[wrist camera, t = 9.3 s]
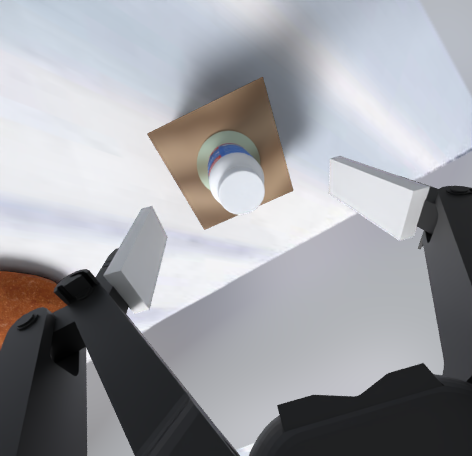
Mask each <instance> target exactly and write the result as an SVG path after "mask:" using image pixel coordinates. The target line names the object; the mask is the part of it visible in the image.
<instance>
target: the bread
mask: <svg viewBox="0 0 472 456" xmlns="http://www.w3.org/2000/svg"><path fill="white" fill-rule="evenodd" d="M56 285H57V284H56V283H55V282H54V281H52V280H49V279H46V278H43V277H40V276H37V275H30V274H23V273H16V272H8V271H0V349H1V347H2V344H3V342H4V339H5V337H6V334H7V332H8V330H9V329H10V327H11V326H12V325H13V324H14V323H15V322H16V321H17V320H18V319H19V318H21V316H23V315H24V314H27V313H29V312H30V311H32V310H35V309H37V308H41V307H44V308H47V309H48V310H49V311H50V312H51V313H53V312H55V311H57V310H59V309H61V308H63V307H65V306H67V305H66V304H65V303H64V302H63V301H62V300H61V299H60V298H59V297H58V296H57V295H56V294H55V293H54V288H55V287H56Z"/></svg>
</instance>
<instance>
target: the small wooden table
mask: <svg viewBox="0 0 472 456" xmlns="http://www.w3.org/2000/svg"><path fill="white" fill-rule="evenodd" d="M147 135H148V136H149V138H150V140H151V141H152V143H153V145H154V146H155V148H156V150H157V151H158V153H159V155H160V156H161V158H162V160H163V161H164V163H165V165H166V166H167V168H168V170H169V171H170V173H171V175H172V176H173V178H174V180H175V181H176V183H177V185H178V186H179V188H180V190H181V191H182V193H183V195H184V196H185V198H186V200H187V201H188V203H189V205H190V206H191V208H192V210H193V211H194V213H195V215H196V217H197V218H198V220H199V222H200V223H201V225H202V227H203V228H204V230H205V229H208V228H210V227H212V226H214V225H217V224H219V223H221V222H224V221H226V220H228V219H230V218H233V217H235V216H237V214H233V213H230V212H229V211H227V210H226V209H225V208H224V207H223V206H222V204H220V203H219V202H218V201H217V200H216V199H215V198H214V196H213V195H212V193H211V190H210V185H209V177H208V160H209V157H210V155H211V153H212V152H213V150H214V149H215V148H216V147H218V146H220V145H222V144H225V143H235V144H238V145H240V146H241V147H243V148H244V149H245V150H246V151H247V152H248V153H249V154H250V155H251V156H252V157H253V158H254V159H255V160H256V161H257V162H258V163H259V165H260V166H261V168H262V170H263V173H264V188H265V195H264V198H263V201H262V203H261V204H260V205H262V204H264V203H267V202H269V201H271V200H273V199H276V198H278V197H280V196H283V195H285V194H287V193H289V192H292V191H293V187H292V184H291V180H290V176H289V172H288V169H287V165H286V161H285V158H284V154H283V150H282V146H281V143H280V139H279V135H278V131H277V128H276V124H275V120H274V117H273V113H272V109H271V105H270V102H269V98H268V94H267V91H266V87H265V83H264V79H263V77H261V78H259V79H257V80H255V81H253V82H251V83H249V84H247V85H245V86H243V87H241V88H239V89H237V90H235V91H233V92H231V93H229V94H227V95H225V96H223V97H221V98H218V99H216V100H214V101H212V102H210V103H208V104H206V105H204V106H202V107H200V108H198V109H196V110H194V111H192V112H190V113H188V114H186V115H184V116H182V117H180V118H178V119H176V120H174V121H172V122H170V123H168V124H166V125H164V126H162V127H160V128H158V129H156V130H154V131H152V132H149V133H147ZM260 205H259V206H260Z"/></svg>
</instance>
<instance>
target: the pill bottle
mask: <svg viewBox="0 0 472 456" xmlns="http://www.w3.org/2000/svg"><path fill="white" fill-rule="evenodd" d="M208 177H209V185H210V190H211V193H212V195H213V196H214V198H215V199H216V200H217V201H218V202H219V203H220V204H222V206H223V207H224V208H225V209H226V210H227V211H229V212H230V213H233V214H237V215H243V214H248V213H250V212H252V211H254V210H255V209H257V208H258V207H259V205H260V204H261V203H262V201H263V198H264V195H265V188H264V173H263V170H262V168H261V166H260V165H259V163H258V162H257V161H256V160H255V159H254V158H253V157H252V156H251V155H250V154H249V153H248V152H247V151H246V150H245V149H244V148H243V147H241V146H240V145H238V144H235V143H225V144H222V145H220V146H218V147H216V148H215V149H214V150H213V152H212V153H211V155H210V157H209V160H208Z"/></svg>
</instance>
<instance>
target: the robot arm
mask: <svg viewBox="0 0 472 456" xmlns="http://www.w3.org/2000/svg"><path fill="white" fill-rule="evenodd" d="M329 194H330V195H331V196H333V197H334V198H336V199H337V200H339V201H340V202H342V203H343V204H345V205H346V206H348V207H349V208H351V209H352V210H354V211H356V212H357V213H359V214H360V215H362V216H363V217H365V218H366V219H368V220H369V221H371V222H372V223H374V224H375V225H377V226H378V227H380V228H381V229H383V230H384V231H386V232H387V233H389V234H390V235H392V236H393V237H395V238H396V239H398V240H399V241H400V240H404V239H408V238H411V237H414V234H415V232H416V228H417V227H419V228H421V229H423V230H424V232H423V235H422V238H421V241H420V243H419V247H418V249H421V247H422V246H424V251H425V257H426V263H427V268H428V274H429V279H430V285H431V291H432V296H433V302H434V307H435V313H436V319H437V324H438V328H439V329H438V330H439V336H440V341H441V347H442V352H443V358H444V370H443V375H435V374H433V373H431V371H430V370H429V369H428V368H427V367H426V366H425V364H423V363H422V364H419V365H415V366H412V367H409V368H405V369H401V370H398V371H394V372H391V373H388V374H386V375H385V376H384V377H383V378H381V379H380V380H379V381H378V382H376V383H375V384H374V385H372V386H371V387H370V388H368V389H367V390H366V391H365V392H363V393H362V394H361V395H359V396H355V397H351V396H349V397H348V396H328V395H327V396H326V395H311V396H308V397H305V398H301V399H297V400H294V401H290V402H287V403H283V404H280V405H277V406H278V410H279V414H280V415H279V416H278V417H276V418H275V419H274V420H273V421H271V422H270V424H268V425H267V426H266V427H265V429H264V430H263V431H262V433H261V434H260V435H259V437H258V439H257V440H256V442H255V444H254V446H253V447H252V450H251V452H250V454H249V456H472V188H469V187H464V186H446V187H442V188H440V189H437V188H434V187H431V186H428V185H425V184H422V183H419V182H416V181H413V180H409V179H407V178H404V177H401V176H397V175H394V174H391V173H388V172H386V171H383V170H380V169H377V168H374V167H371V166H368V165H365V164H362V163H359V162H356V161H353V160H350V159H347V158H345V157H342V156H338V157H334V158H331V159H330V171H329ZM166 241H167V235H166V233H165V231H164V229H163V227H162V225H161V223H160V221H159V219H158V217H157V215H156V213H155V211H154V209H153V207H152V206H150V207H147V208H143V209H141V211H140V213H139V214H138V216H137V218H136V219H135V221H134V223H133V225H132V226H131V228H130V230H129V232H128V233H127V235H126V237H125V239H124V240H123V242H122V244H121V246H120V247H119V248H118V249H115V250H114V251H113V252H112V253H111V254H110V255H109V256H108V258H107V260H106V261H105V263H104V265H103V266H102V268H101V269H100V271H99V273H98V274H97V276H96V278H95V277H94V276H93V275H92V273H91V272H90V271H89V270H87V269H84V270H79V271H76V272H74V273H72V274H70V275H68V276H67V277H65V278H64V279H62V280H61V281H60V282H59V283H58V284H57V285H56V287H55V288H54V293H55V294H56V295H57V296H58V297H59V298H60V299H61V300H62V301H63V302H64V303H65V304H66V305H67V306H65V307H63V308H61V309H59V310H57V311H55V312H53V313H51V312H50V311H49V310H48V309H47V308H44V307H41V308H37V309H35V310H32V311H30V312H29V313H27V314H24V315H23V316H21V318H19V319H18V320H17V321H16V322H15V323H14V324H13V325H12V326H11V327H10V329H9V330H8V332H7V334H6V337H5V339H4V342H3V344H2V347H1V349H0V456H87V407H86V406H87V398H86V397H87V396H86V348H87V350H88V352H89V354H90V357H91V359H92V361H93V363H94V365H95V368H96V370H97V372H98V374H99V376H100V379H101V381H102V383H103V385H104V388H105V390H106V392H107V394H108V397H109V399H110V401H111V403H112V406H113V408H114V410H115V412H116V415H117V417H118V419H119V421H120V424H121V426H122V428H123V430H124V432H125V435H126V437H127V439H128V441H129V444H130V446H131V448H132V450H133V453H134V455H135V456H240V455H239V454H238V452H237V451H236V450H235V449H234V448H233V446H232V445H231V444H230V443H229V441H228V440H227V439H226V438H225V437H224V435H223V434H222V433H221V432H220V431H219V429H218V428H217V427H216V426H215V425H214V423H213V422H212V421H211V419H210V418H209V417H208V416H207V414H206V413H205V412H204V411H203V409H202V408H201V407H200V406H199V405H198V403H197V402H196V401H195V399H194V398H193V397H192V396H191V394H190V393H189V392H188V391H187V390H186V388H185V387H184V386H183V385H182V383H181V382H180V381H179V379H178V378H177V377H176V376H175V374H174V373H173V372H172V371H171V369H170V368H169V367H168V366H167V365H166V363H165V362H164V361H163V360H162V358H161V357H160V356H159V354H158V353H157V352H156V351H155V349H154V348H153V347H152V346H151V345H150V343H149V342H148V341H147V340H146V338H145V337H144V336H143V335H142V333H141V332H140V331H139V330H138V328H137V327H136V326H135V325H134V323H133V322H132V321H131V320H130V318H129V317H128V316H127V315H126V313H127V310H128V307H129V308H130V309H131V310H132V312H133V313H134V314H136V313H140V312H143V311H147V310H150V306H151V301H152V297H153V293H154V289H155V285H156V281H157V277H158V273H159V269H160V265H161V261H162V257H163V253H164V249H165V245H166Z"/></svg>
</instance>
